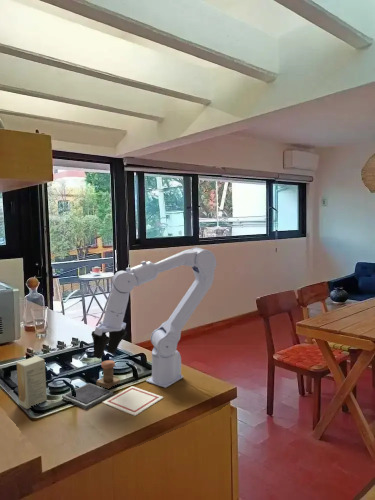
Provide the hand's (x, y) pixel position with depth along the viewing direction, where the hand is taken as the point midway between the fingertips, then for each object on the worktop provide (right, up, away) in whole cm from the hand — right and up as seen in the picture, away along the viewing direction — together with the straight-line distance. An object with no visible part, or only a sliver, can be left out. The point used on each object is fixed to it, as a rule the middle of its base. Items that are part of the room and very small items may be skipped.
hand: (104, 354), depth 116 cm
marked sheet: (+10, -11, -6) cm, 16 cm away
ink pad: (-4, -11, -4) cm, 12 cm away
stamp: (+1, -10, +3) cm, 11 cm away
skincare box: (-18, -11, -8) cm, 23 cm away
